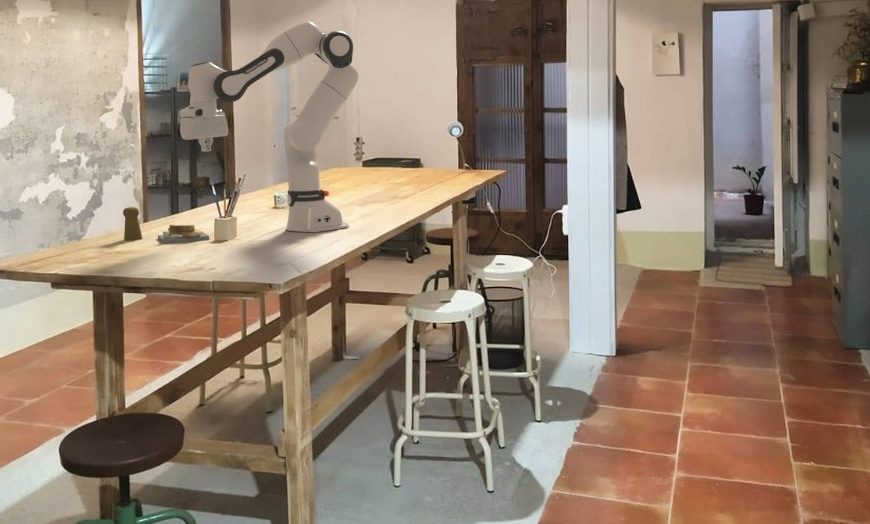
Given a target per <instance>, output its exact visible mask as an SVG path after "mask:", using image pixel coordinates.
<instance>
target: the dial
mask: <svg viewBox="0 0 870 524" xmlns="http://www.w3.org/2000/svg"><path fill="white" fill-rule="evenodd" d="M168 228H170V235H182V237H197V236H200V235H201V234H200V231H201V230H199V229H196V227H195V225H194V224H189V225H188V224H186V225H185V224H183V225H181V224H176V225H175V224H170V225H169V227H168Z"/></svg>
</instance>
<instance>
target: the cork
mask: <svg viewBox="0 0 870 524" xmlns="http://www.w3.org/2000/svg"><path fill="white" fill-rule="evenodd" d="M139 215H140V212H139V209H138V208H137V207H133V206H130V207H125V208H124V209H123V211H122V216H124V234H123V235H124V236H123V240H124V241H126V242H127V241H128V242H129V241H130V242H131V241H132V242H133V241H141V240H143V235H142V230H141V226H140V221H139V218H138V217H139Z"/></svg>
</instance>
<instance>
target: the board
mask: <svg viewBox="0 0 870 524" xmlns="http://www.w3.org/2000/svg"><path fill="white" fill-rule="evenodd" d="M200 234H201V235H200V236H197V237H182V235H170V228H169V227H168V228H167V230H165V231H162V234H159V235H157V240H159V241H160V242H162V243H163V244H164V245H167V244H175V243H176V244H177V243H186V242H196V241H204V240H205V241H206V240H210V235H209V234H207V233H205V232H204V231H202V230H200Z"/></svg>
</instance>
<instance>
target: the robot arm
mask: <svg viewBox="0 0 870 524" xmlns="http://www.w3.org/2000/svg"><path fill="white" fill-rule="evenodd" d="M353 53H354V43H353V40H352V38H351V37H350V35H348V33H346V32H344V31H341V30H333V31H330V32H327V33H323V32H322V31H321V30H320V28H319V27H318V26H317V25H316V24H314V23H313V22H311V21H304V22H301V23H299V24H296V25H294V26H292V27H290V28H288V29H286V30H285V31H283V32H281V33H280V34H279V35H277V36H276V37H275V38H273V39H272V40H271V41H270V42H269V43H268V44H267V46H266V47H265V49H264V50H263V52H262V53H261V54H260V55H259V56H258V57H256V58H255V59H253V60H252V61H250V62H248V63H246V64H245V65H243V66H241V67H240V68H238V69H234V70H226V69H223V68H220V67H219V66H216V65H214V64H213V63H212V62H211V61H206V62H199V63H195V64H192V65H191V66H190V67H189V70H188V91H189V93H190V98H189V105H188V106H187V107H185V108H182V109H180V111H179V117H180V121H179V131H180V136H181V139H183V140H189V141H190V140H198V143H199V145H200V148H201V152H211V151H212V145H213V142H214V138H219V137H227V136H228V134H229V128H228V127H229V126H228V125H229V124H228V121H227V120H228V119H227V118H226V113H225V112H224V111H223V110H222V109H218V107H217V105H218V104H217V99H220V100H221V101H223V102H226V103H234V102H237V101H239V100H240V99H241V98H242V97H243V95H244V94H245V93H246V91H247V90H248V88H249V87H250V86H252V84H254V83H256V82H257V81H259V80H261V79H262V78H264V77H266V76H267V75H269V74H270V73H272V72H275V71H278V70H279V71H280V70H282V69H286V68H289V67H292V66H293V65H294V64H297V63H299V62H300V61H302V60H304V59H305V58H307V57H308V56H310V55H313V54H314V55H315V56H317V57H318V59H320V60H321V62H324V63H325V64H327V65H328V70H327V71H326V73H325V75H324V77H323V78H322V80H321V81H320V82H319V83H318V85H317V86H316V87H315V88H314V90H313V91H312V93H311V95H310V96H309V97H308V99H307V101H306V103H305V105H304V106H303V108H302V110H301V111H300V113H299V115H298V116H297V117H296V118H295V119H293V120H290V121H289V122H288V123H287V124H286V125H285V128H284V130H283V141H284V149H285V150H284V151H285V158H286V159H285V161H286V164H287V181H288V182H287V183H288V190H287V196H286V197H287V206H288V214H287V222H286V226H285V227H286V228H285V230H287V231H290V232H302V233H304V232H305V233H307V232H308V233H319V232H326V231H333V230H339V229H347V228H349V227H350V225H349V223H348V222H346V221H343V216H342V212H341V211H340V209H339V208H338V207H336V206H335V205H334V204H332V203H331V202H330V201H329V200H327V199H325V198H326V197H329V196H330V192H329V190H324V189H321V186H320V184H321V183H320V167H319V163H318V161H319V160H318V155H317V154H318V153H317V147H318V146H319V144H320V142H321V141H322V139H323V138H324V136H325V134H326V132H327V131H328V129H329V127H330V126H331V124H332V122H333V120H334V118H335V117H336V116H337V114H338V113H339V111H340V110H341V109H342V107H343V105H344V104H345V103H346V102H347V100H348V99H349V97H350V96H351V94H352V92H353V91H354V88H355V87H356V85H357V82H358V81H359V72H358V71H357V69H356V68H355V67H354V66H353V65H352V62H353Z"/></svg>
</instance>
